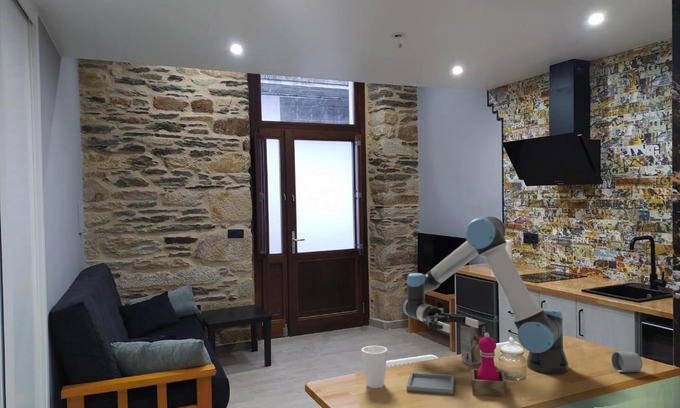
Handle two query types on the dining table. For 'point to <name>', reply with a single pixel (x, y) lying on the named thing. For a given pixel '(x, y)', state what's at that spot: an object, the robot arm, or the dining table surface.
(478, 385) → the wooden box
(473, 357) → the coffee box
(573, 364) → the dining table surface
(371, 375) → the foam cup
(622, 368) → the grey slotted cylinder
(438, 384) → the slate tray
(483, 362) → the pepper mill
